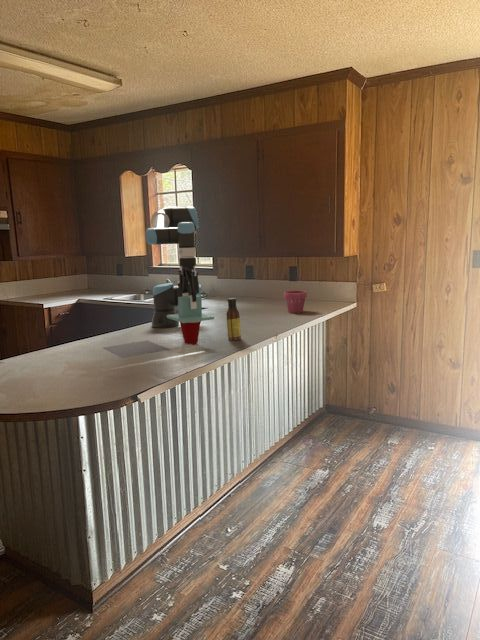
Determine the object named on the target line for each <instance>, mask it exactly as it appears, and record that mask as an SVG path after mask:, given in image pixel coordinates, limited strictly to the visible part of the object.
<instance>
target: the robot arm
mask: <svg viewBox="0 0 480 640" xmlns="http://www.w3.org/2000/svg"><path fill="white" fill-rule="evenodd" d="M150 224H151V227H148V228H146V230H145V240H146V244H147V245H153V246H155V245H178V258H179V259H178V260H179V261H178V263H179V270H178V275H179V276H178V281H177V285H175V284H174V283H173V282H169V283H167V282H166V283H162V284H161V283H160V284H158V285H154V286H153V288H152V296H153V299H152V300H153V315H152V320H151V327H153V328H157V329H158V328H159V329H162V328H163V329H166V328H175V327H177V326H180V322H178V321H175V320H172V319H169V318H167V315H173V314H177V313H176V307H178V297H183V296H190V306H191V309H197V305H196V295H198V296H202V284H200V283H199V278H198V277H199V271H198V270H196V266H197V258H196V256H197V252H196V233H197V229H199V228H200V224H199V218H198V212H197V209H196V207H194V206H187V205H186V206H165V207H161V208H160V209H158V210H157V211H155V212H154V213H153V214H152V215H151V217H150Z"/></svg>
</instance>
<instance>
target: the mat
mask: <svg viewBox="0 0 480 640" xmlns="http://www.w3.org/2000/svg"><path fill="white" fill-rule="evenodd" d="M103 349H104V350H105V351H108V352H110V353H112V354H113V355H116V356H118V357H119V358H122V359H126V358H129V357H137V356H142V355H146V354H147V355H148V354H152V353H157V352H159V353H160V352H164V351H169V350H171V348H168V347H166V346H163V345H160V344H157V343H155V342H152V341H150V340H148V339H147V340H142V341H134V342H128V343H124V344H118V345H111V346H105V347H104V346H103Z"/></svg>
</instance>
